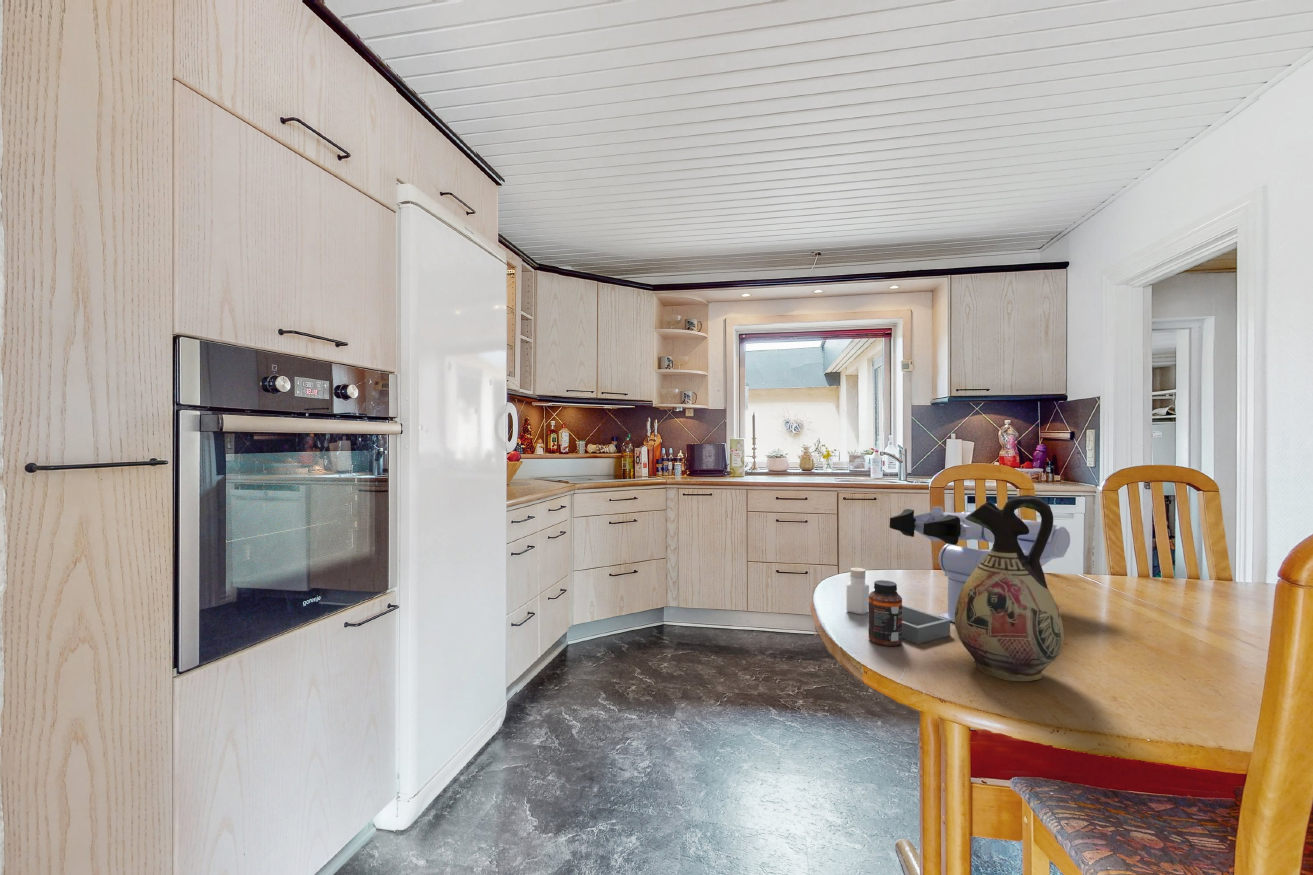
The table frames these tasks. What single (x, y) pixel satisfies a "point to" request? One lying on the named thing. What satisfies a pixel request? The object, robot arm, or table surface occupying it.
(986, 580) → the ceramic jug
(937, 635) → the box
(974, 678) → the table surface
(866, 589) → the pepper shaker
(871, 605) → the supplement bottle
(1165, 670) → the table surface
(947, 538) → the robot arm
